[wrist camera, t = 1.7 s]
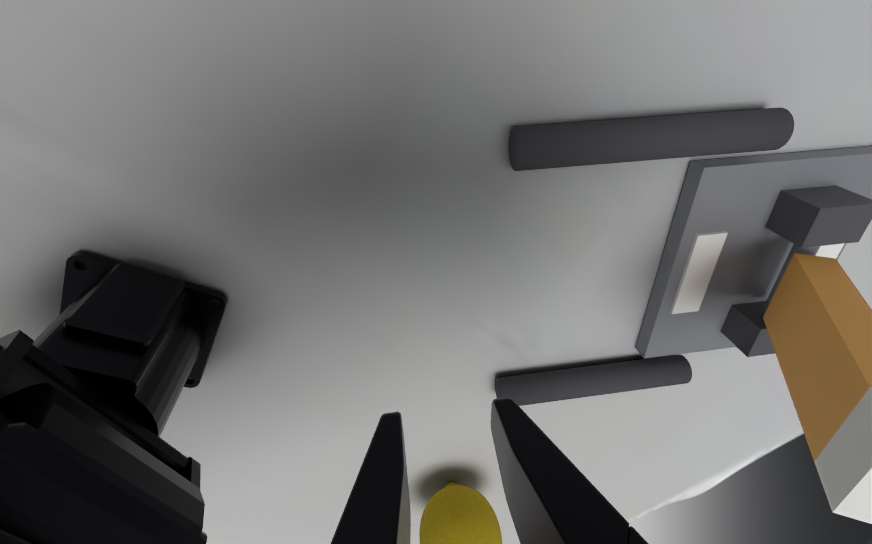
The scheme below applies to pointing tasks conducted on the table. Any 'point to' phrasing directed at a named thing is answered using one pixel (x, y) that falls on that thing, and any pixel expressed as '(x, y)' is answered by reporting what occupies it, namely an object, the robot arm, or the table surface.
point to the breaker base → (749, 243)
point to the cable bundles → (626, 145)
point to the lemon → (459, 518)
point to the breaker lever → (827, 371)
